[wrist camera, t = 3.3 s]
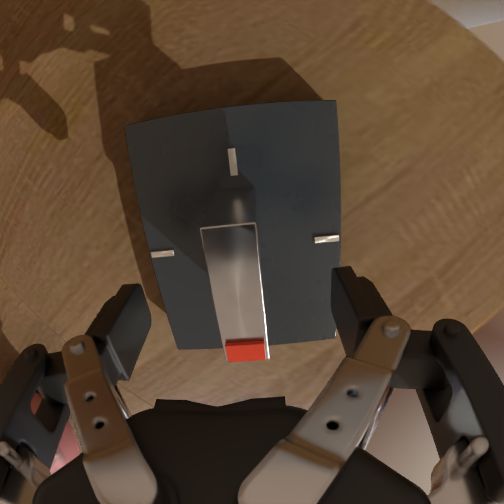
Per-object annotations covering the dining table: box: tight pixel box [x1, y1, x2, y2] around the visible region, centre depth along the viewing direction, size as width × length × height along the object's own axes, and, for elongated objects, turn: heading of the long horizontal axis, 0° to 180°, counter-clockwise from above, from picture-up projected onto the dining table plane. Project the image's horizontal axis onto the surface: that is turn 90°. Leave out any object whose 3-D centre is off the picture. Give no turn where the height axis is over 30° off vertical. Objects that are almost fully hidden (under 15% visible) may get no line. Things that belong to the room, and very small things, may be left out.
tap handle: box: [200, 187, 269, 362], centre depth 14 cm, size 6×2×6 cm, turn 6°
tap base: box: [125, 100, 341, 350], centre depth 18 cm, size 15×11×3 cm
